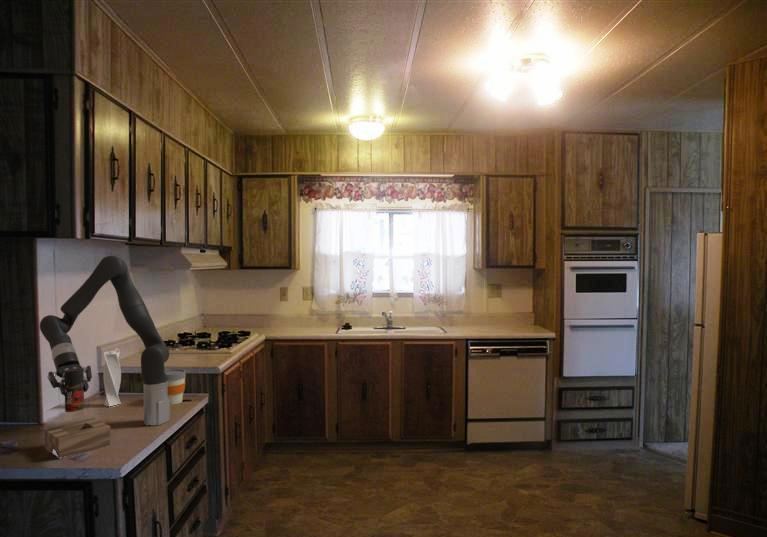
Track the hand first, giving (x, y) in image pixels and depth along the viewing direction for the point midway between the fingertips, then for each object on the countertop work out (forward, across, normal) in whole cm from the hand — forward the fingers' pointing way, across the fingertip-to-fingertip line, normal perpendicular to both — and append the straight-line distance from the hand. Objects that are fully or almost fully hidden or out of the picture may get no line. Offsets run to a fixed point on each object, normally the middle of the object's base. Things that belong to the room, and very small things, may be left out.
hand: (76, 392), depth 165 cm
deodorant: (+4, 0, +6) cm, 7 cm away
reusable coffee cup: (-4, +49, +33) cm, 59 cm away
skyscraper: (-18, +29, +47) cm, 58 cm away
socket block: (+15, 0, +13) cm, 20 cm away
